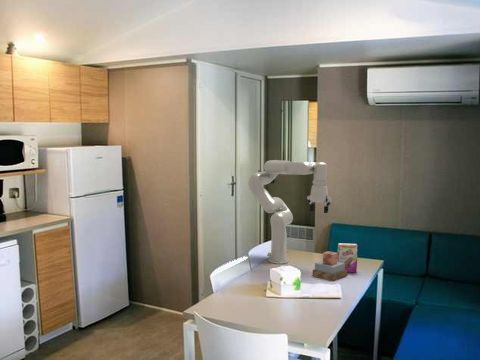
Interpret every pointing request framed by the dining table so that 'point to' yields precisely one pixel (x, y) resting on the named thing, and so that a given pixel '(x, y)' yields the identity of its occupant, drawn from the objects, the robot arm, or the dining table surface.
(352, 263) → the candy bar box
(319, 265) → the grey top slab
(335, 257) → the brick-red cube
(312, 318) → the dining table surface
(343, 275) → the walnut base slab
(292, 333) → the dining table surface
